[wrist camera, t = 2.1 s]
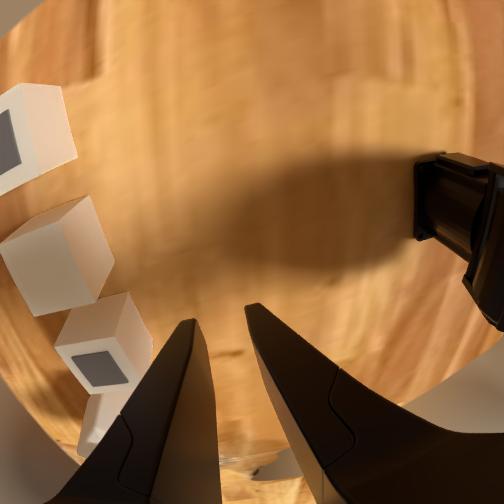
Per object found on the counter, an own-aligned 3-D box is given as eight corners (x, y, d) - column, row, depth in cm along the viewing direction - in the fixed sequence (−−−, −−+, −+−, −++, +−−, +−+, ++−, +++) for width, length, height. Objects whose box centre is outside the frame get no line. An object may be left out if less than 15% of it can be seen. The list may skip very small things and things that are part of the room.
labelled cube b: (78, 157, 16) (40, 175, 11) (20, 184, 16) (-23, 208, 11) (61, 86, 14) (18, 82, 9) (3, 119, 13) (-44, 128, 9)
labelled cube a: (153, 340, 23) (147, 390, 18) (100, 350, 23) (87, 396, 18) (128, 290, 21) (113, 338, 16) (72, 304, 20) (50, 349, 16)
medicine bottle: (87, 398, 25) (68, 499, 14) (107, 362, 23) (84, 483, 13) (148, 422, 28) (145, 520, 17) (177, 391, 26) (179, 507, 15)
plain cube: (115, 261, 19) (95, 302, 15) (60, 276, 19) (34, 317, 15) (89, 193, 17) (58, 220, 13) (33, 216, 17) (-3, 246, 12)
